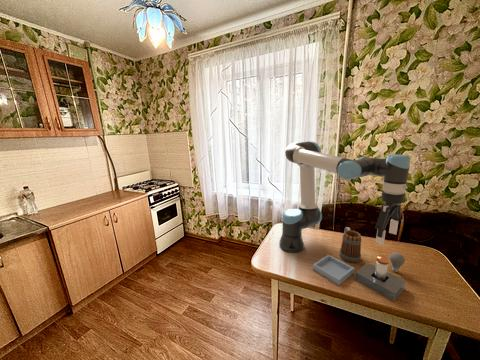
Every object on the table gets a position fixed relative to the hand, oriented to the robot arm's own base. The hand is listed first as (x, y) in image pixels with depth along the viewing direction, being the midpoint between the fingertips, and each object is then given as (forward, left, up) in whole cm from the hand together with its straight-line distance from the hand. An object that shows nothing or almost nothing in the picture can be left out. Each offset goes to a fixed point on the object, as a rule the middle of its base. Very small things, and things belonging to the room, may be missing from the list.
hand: (386, 238), depth 87 cm
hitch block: (0, 0, -24) cm, 24 cm away
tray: (-18, -9, -24) cm, 31 cm away
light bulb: (+1, +16, -24) cm, 29 cm away
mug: (-20, +11, -24) cm, 33 cm away
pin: (0, 0, -24) cm, 24 cm away
